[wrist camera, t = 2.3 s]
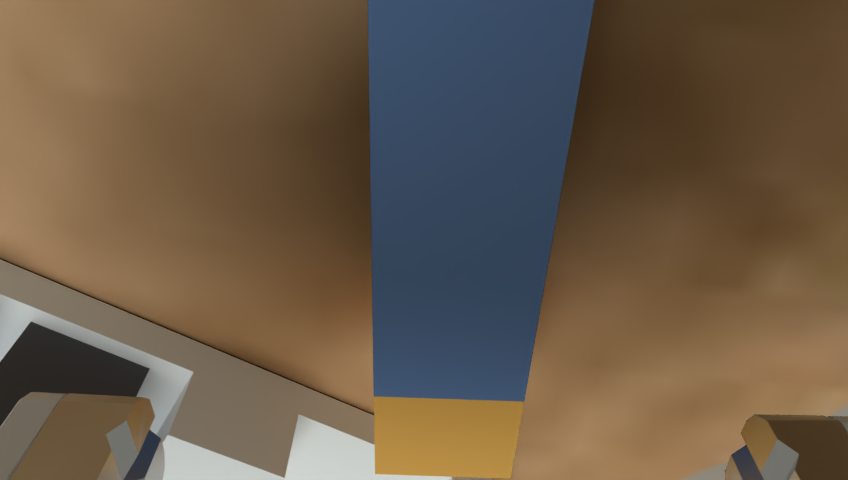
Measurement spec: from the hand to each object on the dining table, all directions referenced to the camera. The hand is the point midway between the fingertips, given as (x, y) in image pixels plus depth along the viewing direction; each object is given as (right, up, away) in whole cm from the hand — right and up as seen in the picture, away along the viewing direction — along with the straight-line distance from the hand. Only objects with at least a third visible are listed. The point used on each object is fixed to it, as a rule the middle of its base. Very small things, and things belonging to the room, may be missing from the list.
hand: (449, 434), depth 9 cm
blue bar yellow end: (0, +5, +5) cm, 7 cm away
